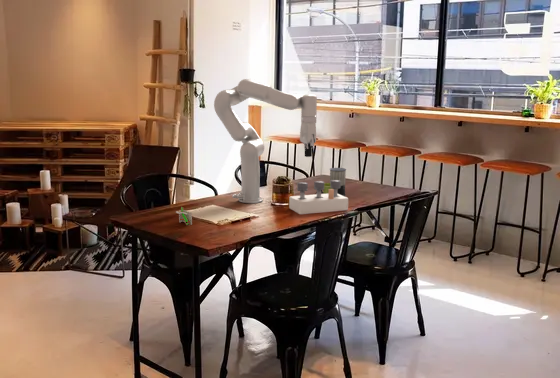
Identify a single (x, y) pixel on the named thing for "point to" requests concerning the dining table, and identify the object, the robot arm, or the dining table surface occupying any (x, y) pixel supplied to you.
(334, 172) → the milk frother
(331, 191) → the dial post
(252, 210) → the dining table surface
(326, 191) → the plant pot
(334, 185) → the knob far
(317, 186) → the knob mid
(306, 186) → the knob near
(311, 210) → the white rectangular block
